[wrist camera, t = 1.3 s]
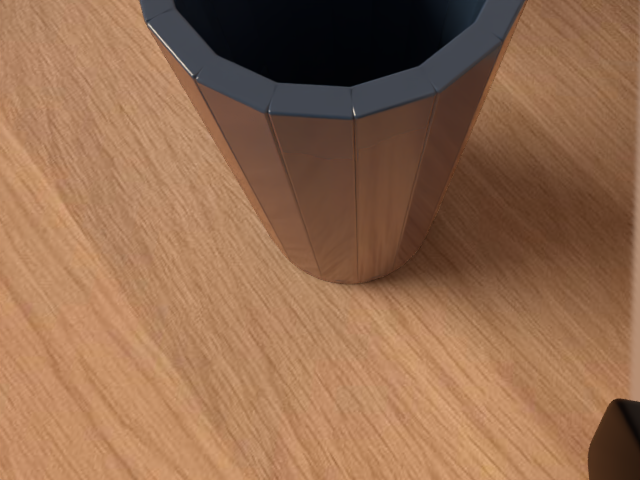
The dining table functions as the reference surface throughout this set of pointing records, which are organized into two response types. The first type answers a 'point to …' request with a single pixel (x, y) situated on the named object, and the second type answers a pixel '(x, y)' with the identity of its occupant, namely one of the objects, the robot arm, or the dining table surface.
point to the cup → (338, 112)
